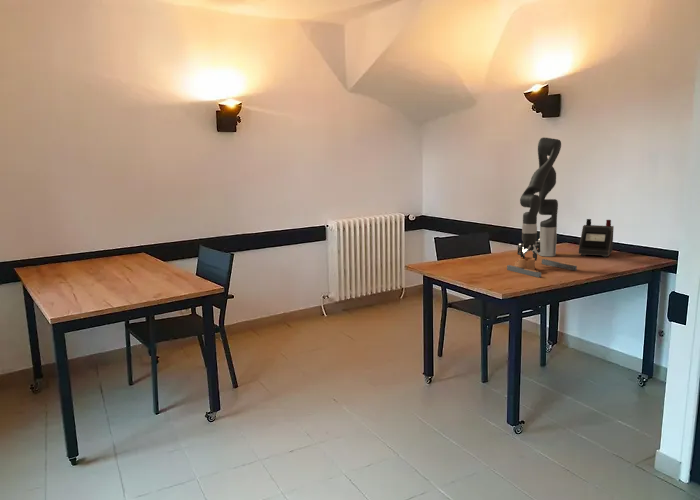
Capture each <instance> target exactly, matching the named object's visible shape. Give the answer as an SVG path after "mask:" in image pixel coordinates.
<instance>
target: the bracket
mask: <svg viewBox="0 0 700 500" xmlns="http://www.w3.org/2000/svg"><path fill="white" fill-rule="evenodd" d="M517 259H518V260H516V261H514V266H516V267H520V268H527V269H532V270H536V268H535V267H536V261H535V258H533V256H532V257H531V256H525V259H523V257H521V256H520V257H518V258H517Z"/></svg>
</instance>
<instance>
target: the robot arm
mask: <svg viewBox="0 0 700 500" xmlns="http://www.w3.org/2000/svg"><path fill="white" fill-rule="evenodd" d="M561 148H562V141H561V140H560V139H557V138H551V137H541V138H540V139H539V141H538V143H537V156H538V169H536V170H535V171H534V173H533V174H532V176H531V178H530V181H529V184H528V186H527V187H526V188H525V190H524V191H523V193H522V194H521V195H520V199H519V204H520V206H521V207H523V208H528V209H529V211H526V212H523V215H522V229H521V240H522V243H518V244H517V255H518V256H520V257H523V259H525V257H526V254H527V253H528V252H532V258H535V262H536V261H537V260H538V255H539V256H541V257H555V256H556V255H557V236H558V235H557V229H558V228H557V227H558V223H557V222H558V212H559V211H558V210H559V201H558V200H557V199H556V198H555V199H554V198H552V199H551V198H546V197H547V196H548V194H549V193H550V192H551V191H552V190H553V188H555V186H556V184H557V171H556V169H555V167H554V164H555V162H556V160H557V158H558V156H559V154H560V152H561ZM537 193H538V194H537ZM538 214H539V215H542V216H550V217H549V218H547V219H544V220H541V221H540V223H539V238H538V225H537V222H538V221H537V220H538Z"/></svg>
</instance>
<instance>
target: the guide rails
mask: <svg viewBox="0 0 700 500" xmlns="http://www.w3.org/2000/svg"><path fill="white" fill-rule="evenodd" d="M541 265H545V266H548V267H549V266H550V267H555V268H559V269H565V270H568V271H573V272H575V271H576V272H577V271H578V265H575V264H573V263H567V262H563V261H556V260H555V261H554V260H549V259H544V258H543V259H541ZM506 270H507V271H510V272H513V273H514V272H515V273H519V274H522V275H526V276H530V277H536V278H542V271H539V270H536V269H535V270H532V269H527V268H520V267H516V266H515V265H512V264H507V265H506Z"/></svg>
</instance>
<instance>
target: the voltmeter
mask: <svg viewBox="0 0 700 500" xmlns="http://www.w3.org/2000/svg"><path fill="white" fill-rule="evenodd" d="M605 221H606V223H605V225H595V224H594V225H593V224H592V219H590V218H586V224H584V225H582V228H581V229H582V230H581V234H580V241H579V244H578V245H579V246H578V255H580V256H581V257H585V256H586V255H592V256H594V255H595V256H602V258H605V259H606V258H607V257H608V256H610V254H611V253H612V252H613V245H614V225H612V220H611V219H606V220H605Z"/></svg>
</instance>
